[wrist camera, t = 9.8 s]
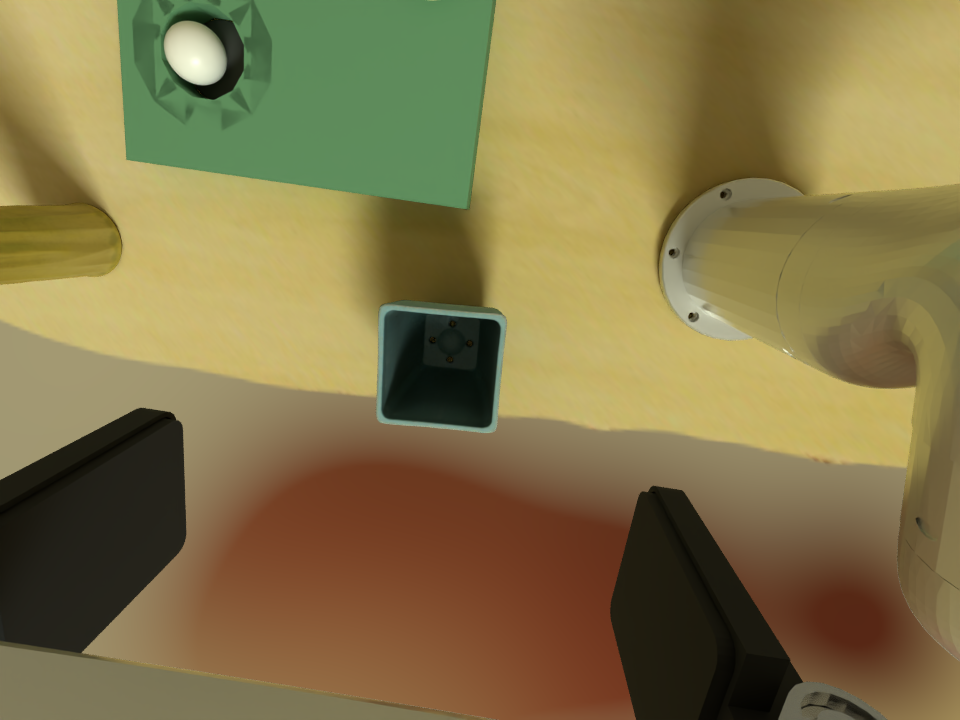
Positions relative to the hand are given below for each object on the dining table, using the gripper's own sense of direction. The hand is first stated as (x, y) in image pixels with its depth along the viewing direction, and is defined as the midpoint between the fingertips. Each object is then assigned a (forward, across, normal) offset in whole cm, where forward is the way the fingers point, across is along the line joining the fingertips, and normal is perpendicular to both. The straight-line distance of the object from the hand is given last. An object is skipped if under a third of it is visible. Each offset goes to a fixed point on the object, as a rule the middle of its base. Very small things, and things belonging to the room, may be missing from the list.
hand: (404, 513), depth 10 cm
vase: (+34, +34, +1) cm, 48 cm away
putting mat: (+33, +15, -14) cm, 39 cm away
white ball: (+31, +23, -14) cm, 41 cm away
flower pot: (+34, +2, +5) cm, 34 cm away
